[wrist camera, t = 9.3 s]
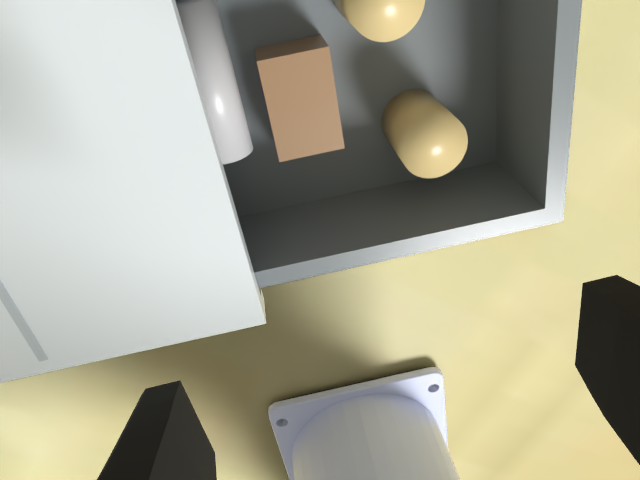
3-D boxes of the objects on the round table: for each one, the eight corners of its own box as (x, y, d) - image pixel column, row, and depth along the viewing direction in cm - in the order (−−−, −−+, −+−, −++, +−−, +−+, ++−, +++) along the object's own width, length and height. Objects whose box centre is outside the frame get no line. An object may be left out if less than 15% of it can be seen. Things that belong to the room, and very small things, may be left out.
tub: (506, 167, 20) (563, 221, 17) (17, 274, 19) (-29, 352, 16) (513, -170, 15) (598, -193, 11) (-163, -35, 14) (-288, -16, 11)
